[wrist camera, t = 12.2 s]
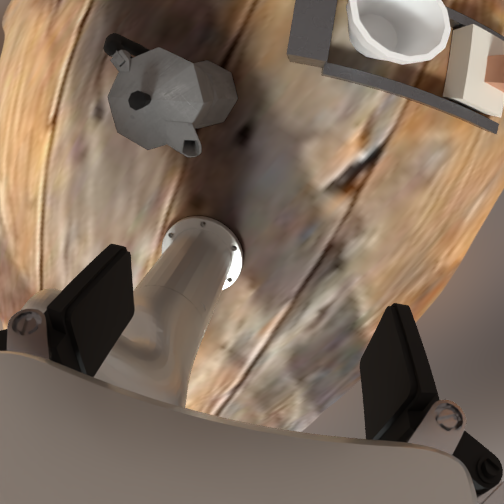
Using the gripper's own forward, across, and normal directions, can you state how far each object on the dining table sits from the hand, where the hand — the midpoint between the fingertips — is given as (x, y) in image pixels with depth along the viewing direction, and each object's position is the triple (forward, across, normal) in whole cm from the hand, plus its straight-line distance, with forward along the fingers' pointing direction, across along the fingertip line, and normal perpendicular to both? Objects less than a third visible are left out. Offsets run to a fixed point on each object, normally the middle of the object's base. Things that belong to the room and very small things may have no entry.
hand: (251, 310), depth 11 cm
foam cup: (+32, -8, -17) cm, 37 cm away
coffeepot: (+32, +13, -6) cm, 36 cm away
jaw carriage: (+32, -21, -17) cm, 42 cm away
